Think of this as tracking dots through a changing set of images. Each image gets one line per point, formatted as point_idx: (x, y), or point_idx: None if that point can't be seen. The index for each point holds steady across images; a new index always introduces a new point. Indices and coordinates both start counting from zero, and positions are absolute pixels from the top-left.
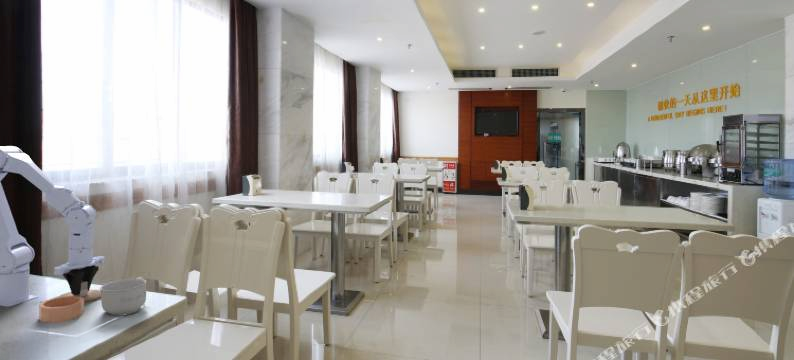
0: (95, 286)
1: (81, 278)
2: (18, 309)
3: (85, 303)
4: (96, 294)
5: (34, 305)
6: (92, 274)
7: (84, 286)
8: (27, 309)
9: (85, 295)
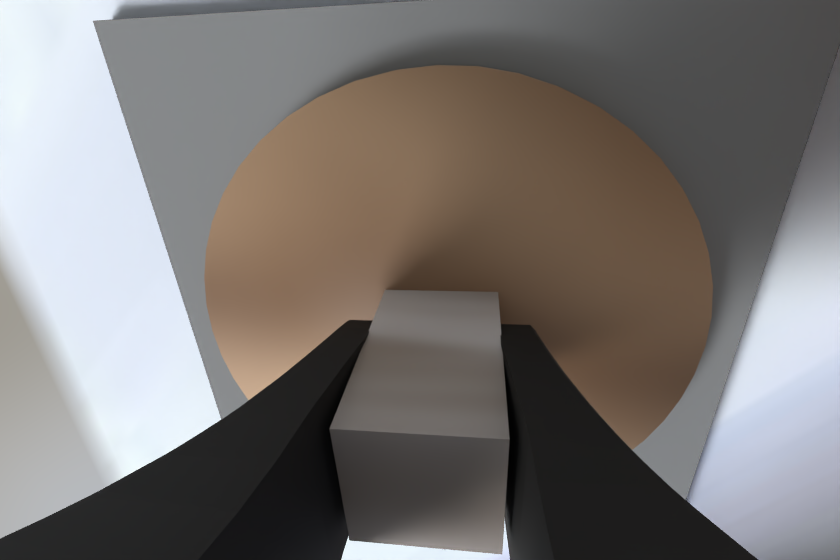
0: (128, 448)
1: (585, 541)
2: (832, 551)
3: (630, 75)
4: (328, 195)
5: (712, 520)
6: (170, 524)
7: (416, 377)
8: (833, 501)
9: (417, 290)
